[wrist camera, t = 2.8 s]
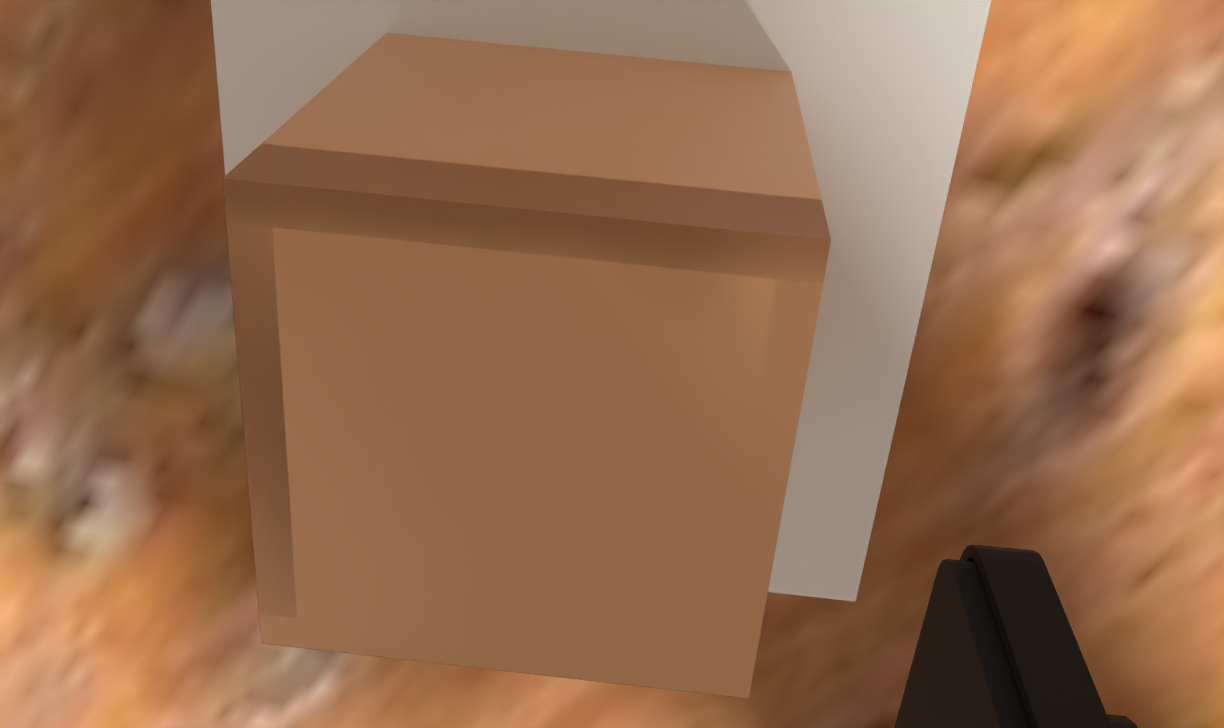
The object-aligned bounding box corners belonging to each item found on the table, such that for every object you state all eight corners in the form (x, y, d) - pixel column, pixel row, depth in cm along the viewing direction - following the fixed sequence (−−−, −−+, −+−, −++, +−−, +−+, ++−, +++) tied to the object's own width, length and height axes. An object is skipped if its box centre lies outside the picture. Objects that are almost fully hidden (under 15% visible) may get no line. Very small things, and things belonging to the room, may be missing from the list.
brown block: (791, 72, 18) (831, 240, 12) (738, 421, 21) (748, 698, 15) (386, 32, 18) (222, 178, 12) (391, 385, 21) (261, 643, 15)
